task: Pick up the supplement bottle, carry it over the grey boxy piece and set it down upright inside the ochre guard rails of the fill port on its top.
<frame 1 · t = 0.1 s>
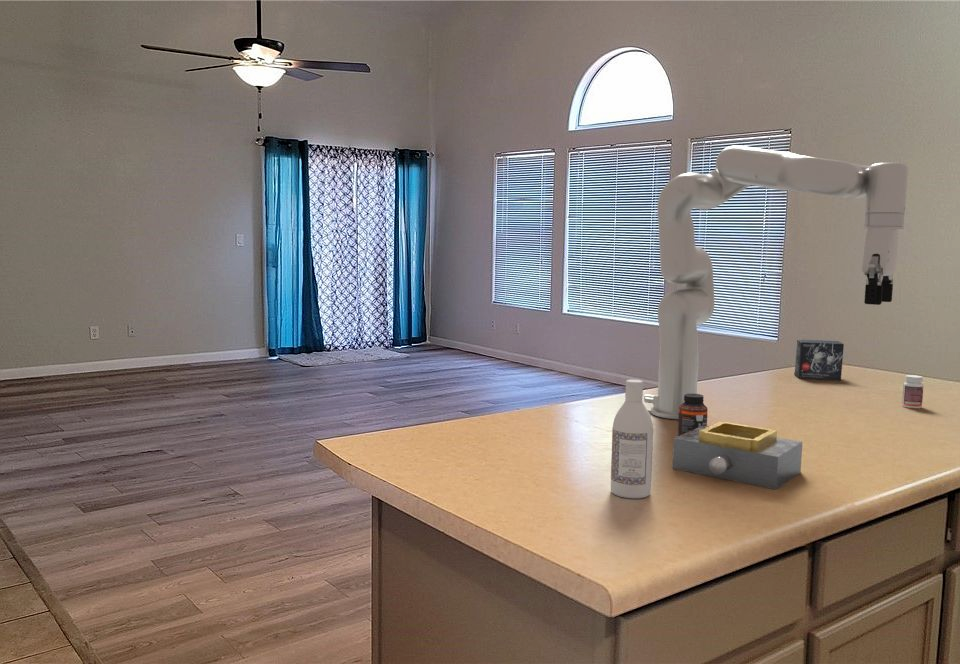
hand: (878, 302, 173), 31 cm above the worktop, tool pointing down, fingers open, 9 cm apart
small box: (817, 378, 261), on the worktop
grey boxy piece: (736, 470, 156), on the worktop
supplement bottle: (691, 447, 174), on the worktop
pill bottle: (911, 407, 218), on the worktop
bath foam: (630, 494, 142), on the worktop
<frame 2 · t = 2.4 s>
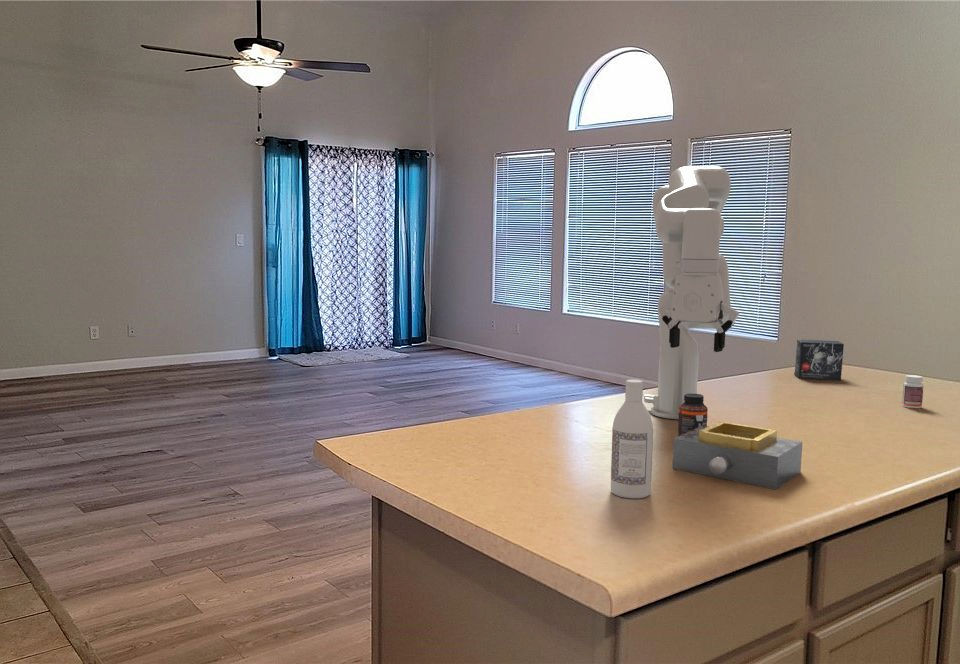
hand: (696, 349, 171), 21 cm above the worktop, tool pointing down, fingers open, 9 cm apart
nothing on the worktop moved.
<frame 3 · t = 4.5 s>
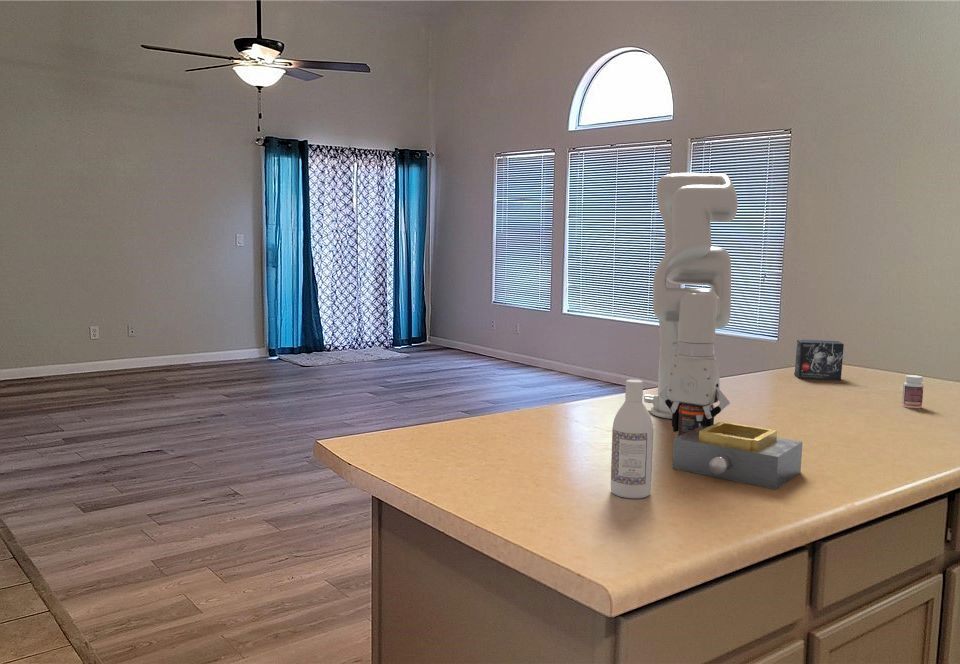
hand: (692, 432, 173), 3 cm above the worktop, tool pointing down, fingers closed on supplement bottle, 6 cm apart
supplement bottle: (691, 447, 173), on the worktop, touching gripper
everything else where it was.
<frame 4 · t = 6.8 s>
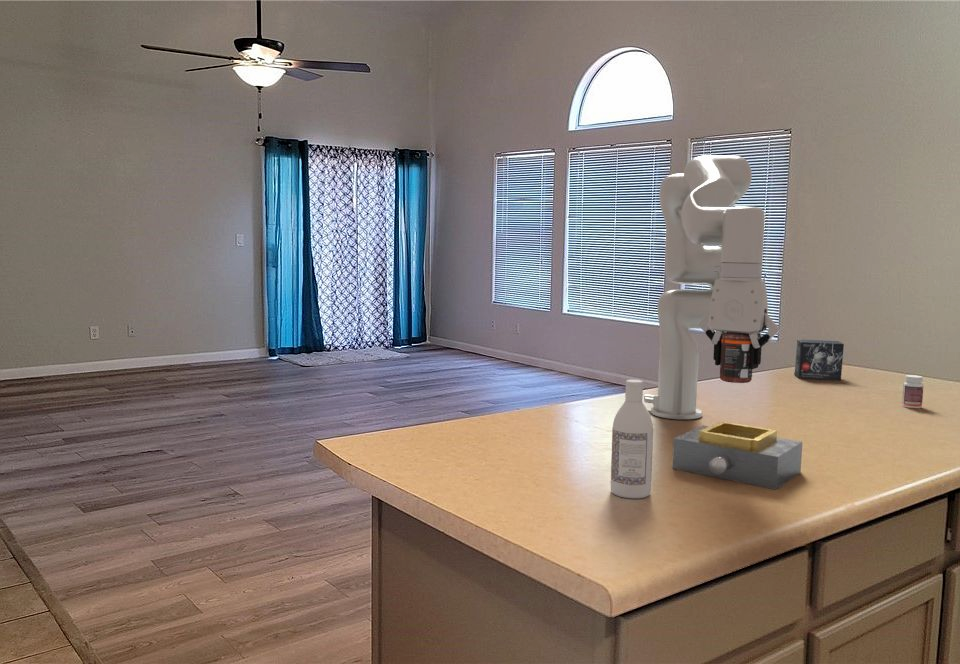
hand: (736, 365, 155), 20 cm above the worktop, tool pointing down, fingers closed on supplement bottle, 6 cm apart
supplement bottle: (735, 382, 156), point 17 cm above the worktop, touching gripper
everything else where it was.
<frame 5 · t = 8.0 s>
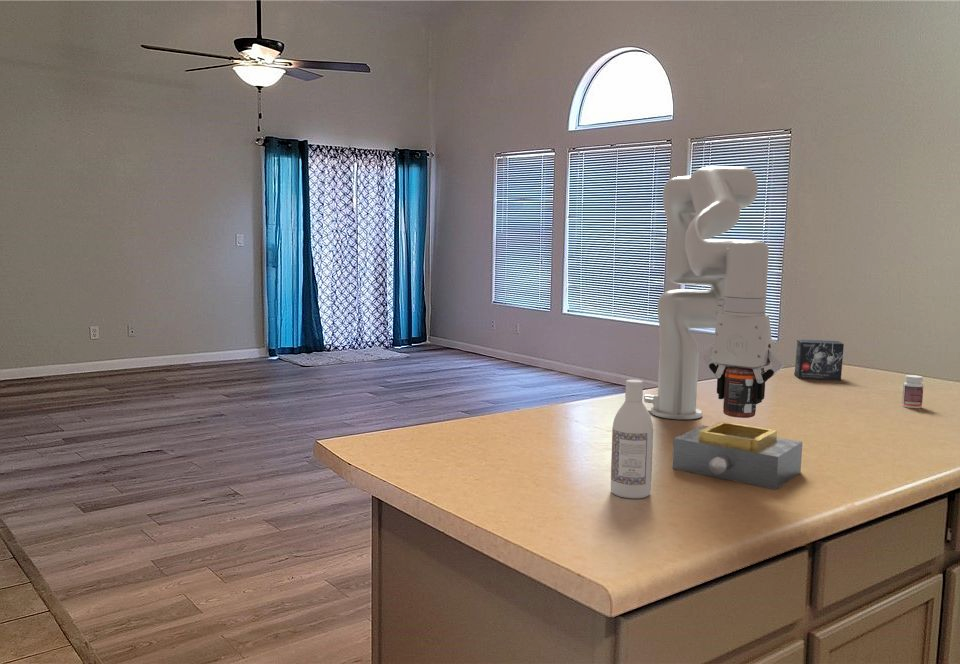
hand: (739, 399, 155), 14 cm above the worktop, tool pointing down, fingers closed on supplement bottle, 6 cm apart
supplement bottle: (739, 416, 155), point 11 cm above the worktop, touching gripper
everything else where it was.
when the fingers open (10 cm above the worktop, at t = 9.1 s): supplement bottle drops 1 cm, resting on grey boxy piece.
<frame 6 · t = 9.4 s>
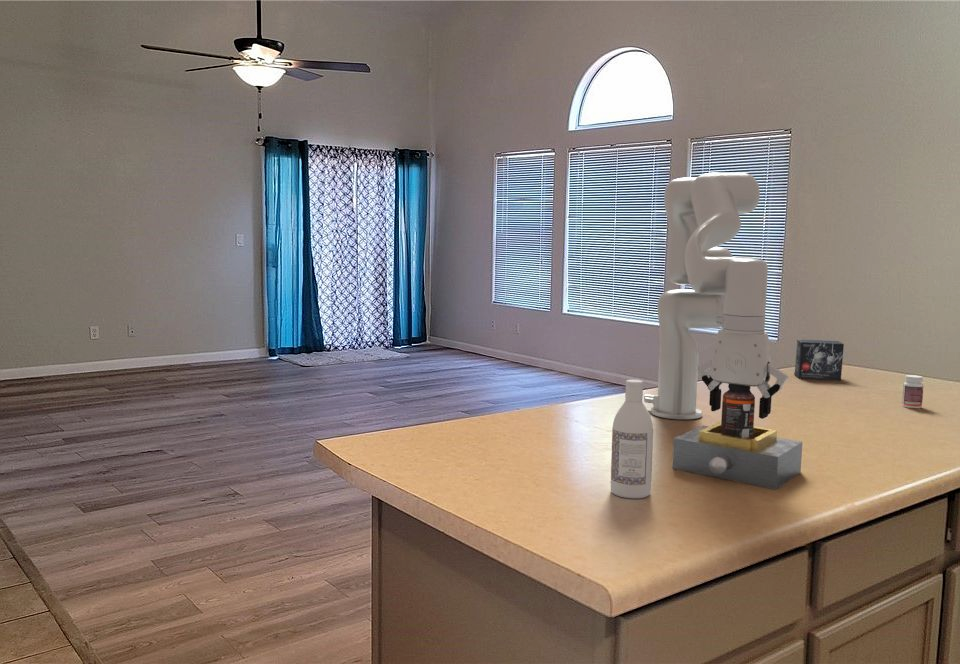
hand: (739, 413, 155), 11 cm above the worktop, tool pointing down, fingers open, 9 cm apart
supplement bottle: (736, 440, 156), point 6 cm above the worktop, touching grey boxy piece
everything else where it was.
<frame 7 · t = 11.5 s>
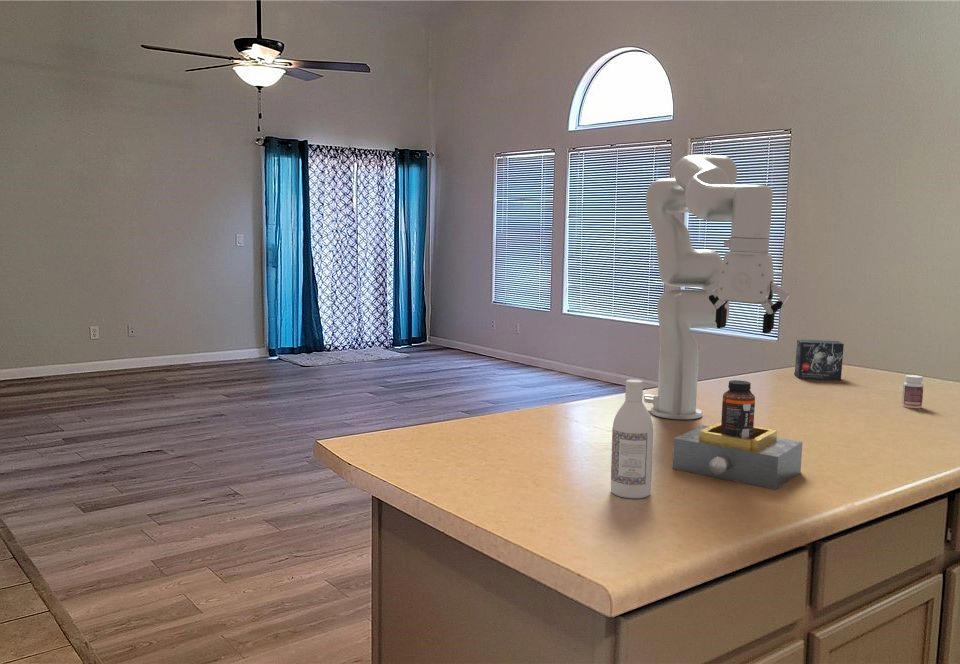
hand: (743, 330, 167), 26 cm above the worktop, tool pointing down, fingers open, 9 cm apart
nothing on the worktop moved.
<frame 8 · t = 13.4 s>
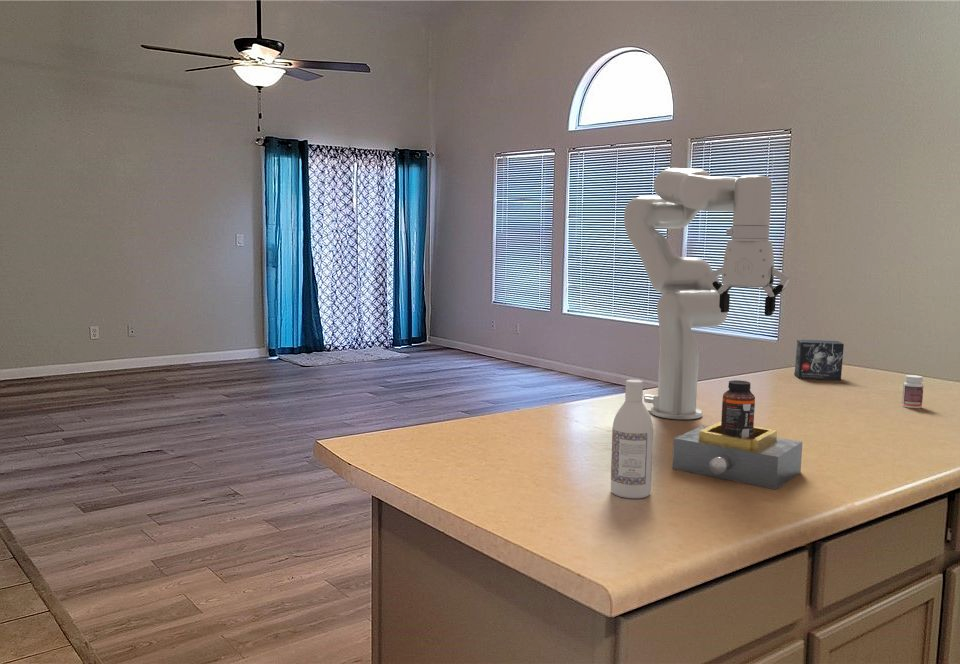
hand: (746, 313, 176), 28 cm above the worktop, tool pointing down, fingers open, 9 cm apart
nothing on the worktop moved.
at the end: supplement bottle inside the target area on the grey boxy piece (0.3 cm from its centre), point 5.8 cm above the grey boxy piece's base; supplement bottle tilted 0°; the gripper is holding nothing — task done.
